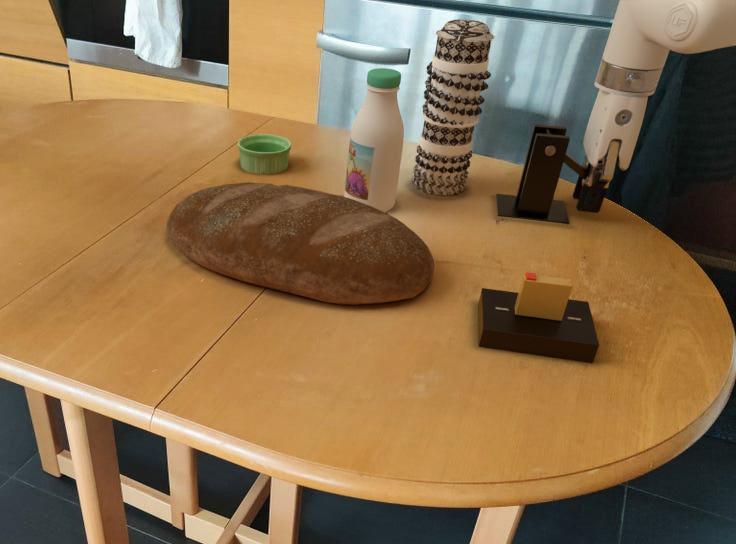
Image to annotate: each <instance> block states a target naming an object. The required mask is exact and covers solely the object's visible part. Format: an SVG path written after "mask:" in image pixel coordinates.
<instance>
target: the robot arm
mask: <svg viewBox="0 0 736 544" xmlns="http://www.w3.org/2000/svg"><path fill="white" fill-rule="evenodd" d="M735 46H736V0H619V1H618V5H617V8H616V11H615V14H614V18H613V20H612V25H611V28H610V31H609V34H608V37H607V40H606V44H605V46H604V51H603V53H602V57H601V61H600V64H599V67H598V70H597V73H596V77H595V80H594V84H593V85H594V86H595V88H596V89H598V92H597V97H595V101H594V103H593V107H592V110H591V113H590V116H589V119H588V122H587V125H586V128H585V133H584V136H583V143H582V144H583V146H582V147H583V150H584V152H585V156H584V159H583V162H582V164H581V165H582V166H583V167H584V168H585V169H586V170H587V171H589V176H588V179H587V183H586V184H583V186H582V180H583V178H582V177H581V176H579V175H578V177H577V180H576V183H575V186H574V190H573V192H572V198H573V200H577V203H576V206H575V210H576V211H577V212H584V213H592V214H598V213H600V211H601V208H602V206H603V202H604V200H605V197H606V194H607V191H608V189H609V186H610V182H611V181H612V180H613V178H614V174H615V170H616V164H617V165H618V167H619V169H620V170H621V171H626V170H628V168H629V167H630V163H631V161H632V158H633V154H634V151H635V148H636V145H637V142H638V139H639V135H640V132H641V128H642V125H643V121H644V118H645V113H646V109H647V104H648V100H649V99H648V98H649V96H652V95H654V94H655V92H656V89H657V86H658V84H659V81H660V78H661V75H662V73H663V70H664V67H665V64H666V61H667V60H668V56H669V54H670V51H672V52H675V53H678V54H685V55H690V54H693V55H694V54H698V53H699V54H700V53H704V52H711V51H714V50H716V49H718V50H719V49H723V48H729V47H735ZM596 171H600V172H597V173H596V174H595V172H596Z"/></svg>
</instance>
